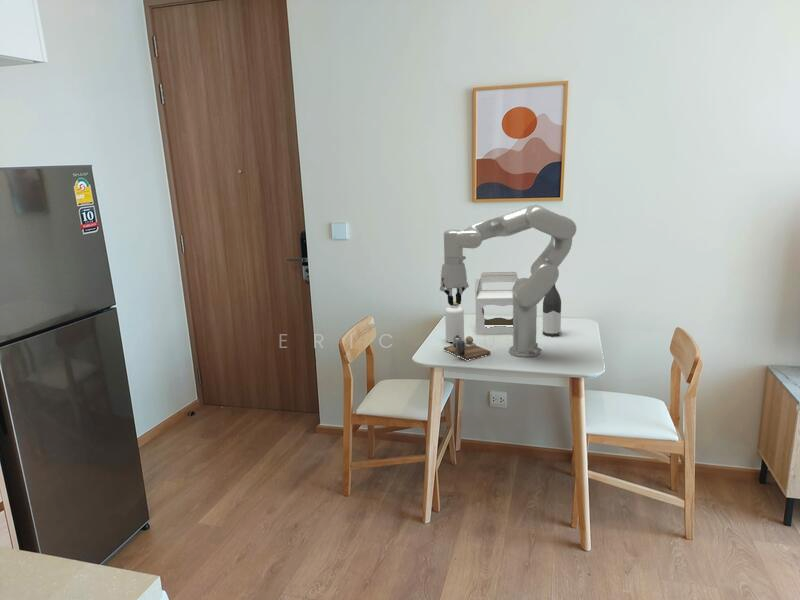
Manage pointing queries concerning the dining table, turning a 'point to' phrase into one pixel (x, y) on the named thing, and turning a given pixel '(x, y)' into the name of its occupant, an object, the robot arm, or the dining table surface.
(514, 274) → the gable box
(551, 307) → the wine bottle
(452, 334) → the white container
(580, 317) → the dining table surface
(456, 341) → the lever
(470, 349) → the board
